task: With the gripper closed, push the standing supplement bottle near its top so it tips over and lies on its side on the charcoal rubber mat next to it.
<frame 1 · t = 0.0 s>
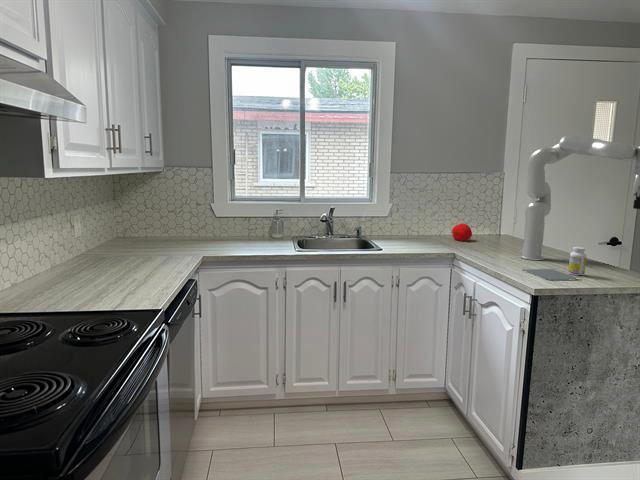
hand: (638, 208, 209), 31 cm above the worktop, tool pointing down, fingers open, 9 cm apart
mat: (550, 274, 205), on the worktop
supplement bottle: (575, 275, 207), on the worktop
tomato: (461, 240, 300), on the worktop
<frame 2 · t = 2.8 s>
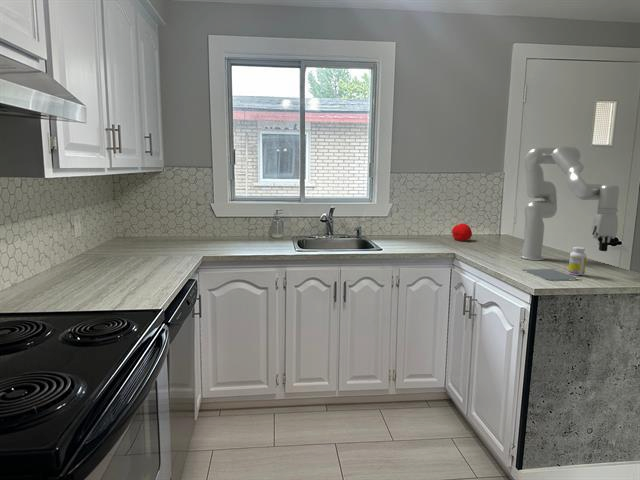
hand: (602, 250, 206), 11 cm above the worktop, tool pointing down, fingers closed
nothing on the worktop moved.
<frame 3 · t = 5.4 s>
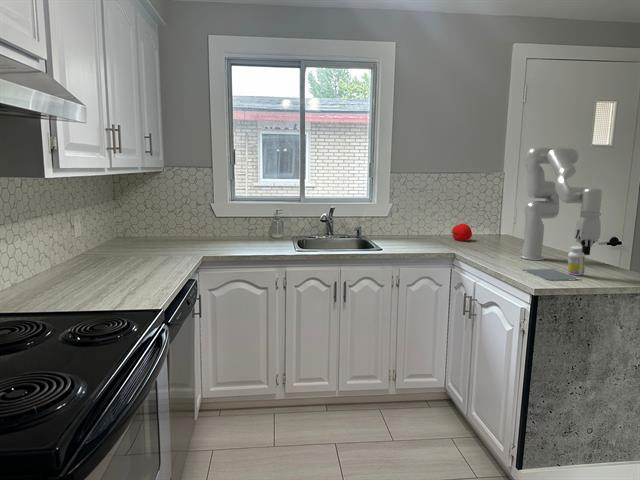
hand: (585, 254, 205), 10 cm above the worktop, tool pointing down, fingers closed
supplement bottle: (576, 274, 207), on the worktop, touching gripper
everything else where it was.
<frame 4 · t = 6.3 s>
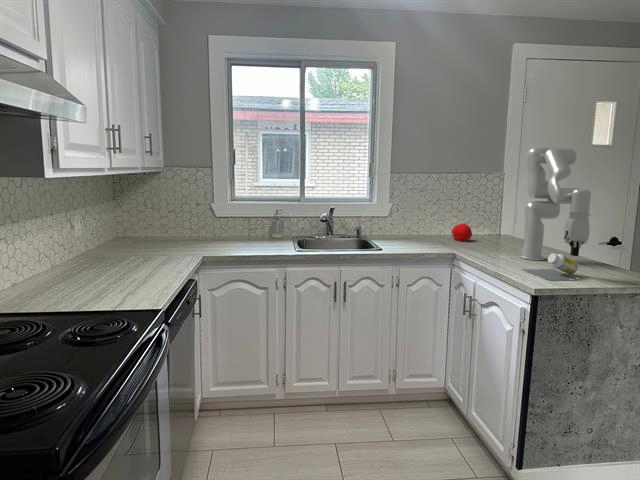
hand: (574, 255, 205), 9 cm above the worktop, tool pointing down, fingers closed
supplement bottle: (573, 268, 206), point 3 cm above the worktop
everything else where it was.
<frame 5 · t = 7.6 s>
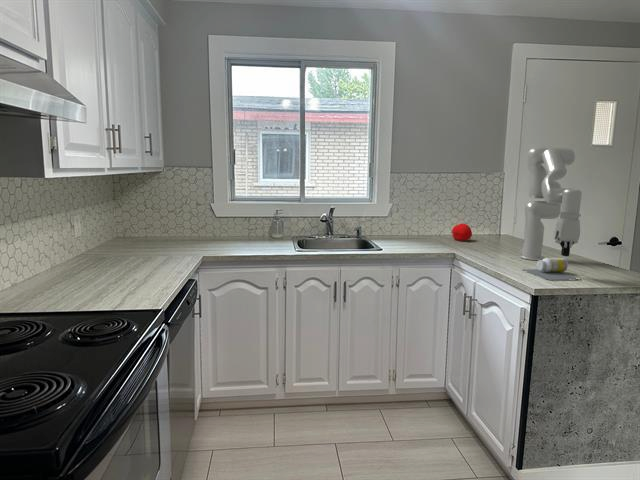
hand: (565, 255, 204), 9 cm above the worktop, tool pointing down, fingers closed
supplement bottle: (564, 264, 210), point 4 cm above the worktop, touching mat
everything else where it was.
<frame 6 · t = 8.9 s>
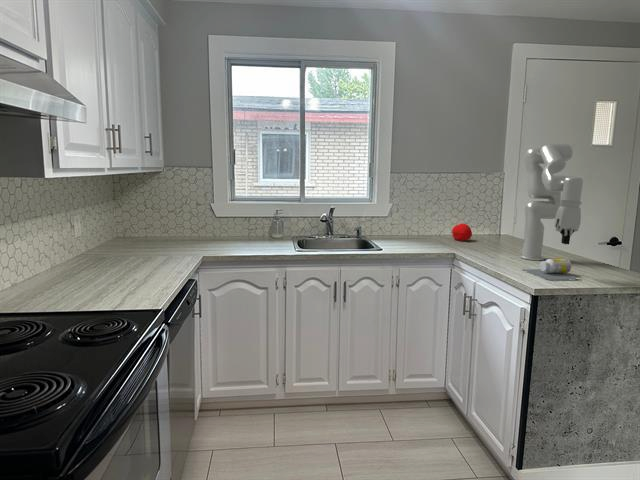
hand: (565, 243, 204), 15 cm above the worktop, tool pointing down, fingers closed
supplement bottle: (567, 265, 208), point 4 cm above the worktop, touching mat
everything else where it was.
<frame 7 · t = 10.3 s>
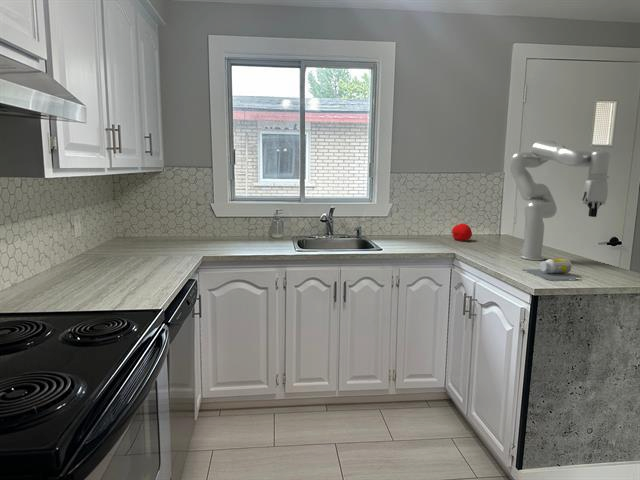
hand: (592, 216, 210), 27 cm above the worktop, tool pointing down, fingers closed
nothing on the worktop moved.
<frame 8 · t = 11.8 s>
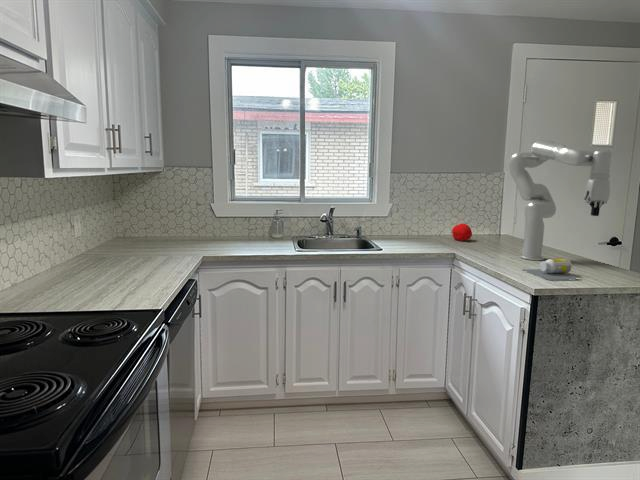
hand: (594, 215, 211), 27 cm above the worktop, tool pointing down, fingers closed
nothing on the worktop moved.
at the end: supplement bottle tilted 90°; supplement bottle touching mat; supplement bottle inside the target area (8.8 cm from its centre), point 3.7 cm above the worktop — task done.
